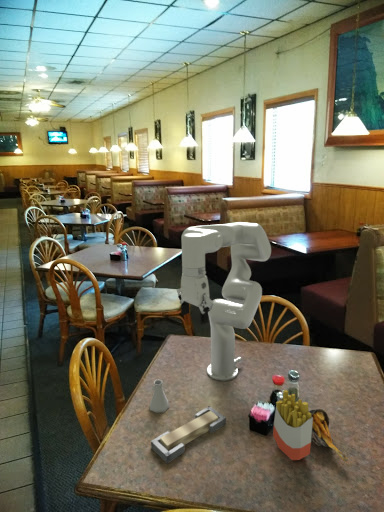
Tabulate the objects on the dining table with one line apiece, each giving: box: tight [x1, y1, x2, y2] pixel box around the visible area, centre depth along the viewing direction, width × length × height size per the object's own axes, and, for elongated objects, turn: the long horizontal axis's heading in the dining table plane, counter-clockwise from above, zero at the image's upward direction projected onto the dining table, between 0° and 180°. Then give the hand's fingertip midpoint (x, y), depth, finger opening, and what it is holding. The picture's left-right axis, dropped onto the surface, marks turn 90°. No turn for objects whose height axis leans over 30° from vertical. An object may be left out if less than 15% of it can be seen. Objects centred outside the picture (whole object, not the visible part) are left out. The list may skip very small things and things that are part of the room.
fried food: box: [308, 408, 349, 463], centre depth 112 cm, size 9×11×18 cm
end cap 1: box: [150, 430, 185, 464], centre depth 111 cm, size 6×8×2 cm
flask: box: [149, 379, 170, 414], centre depth 130 cm, size 7×7×10 cm
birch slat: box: [160, 411, 218, 451], centre depth 117 cm, size 20×4×4 cm, turn 127°
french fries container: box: [272, 389, 313, 461], centre depth 108 cm, size 5×11×18 cm, turn 30°
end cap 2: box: [194, 405, 227, 434], centre depth 123 cm, size 6×8×2 cm
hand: (194, 318), depth 126 cm, fingers open, 9 cm apart
